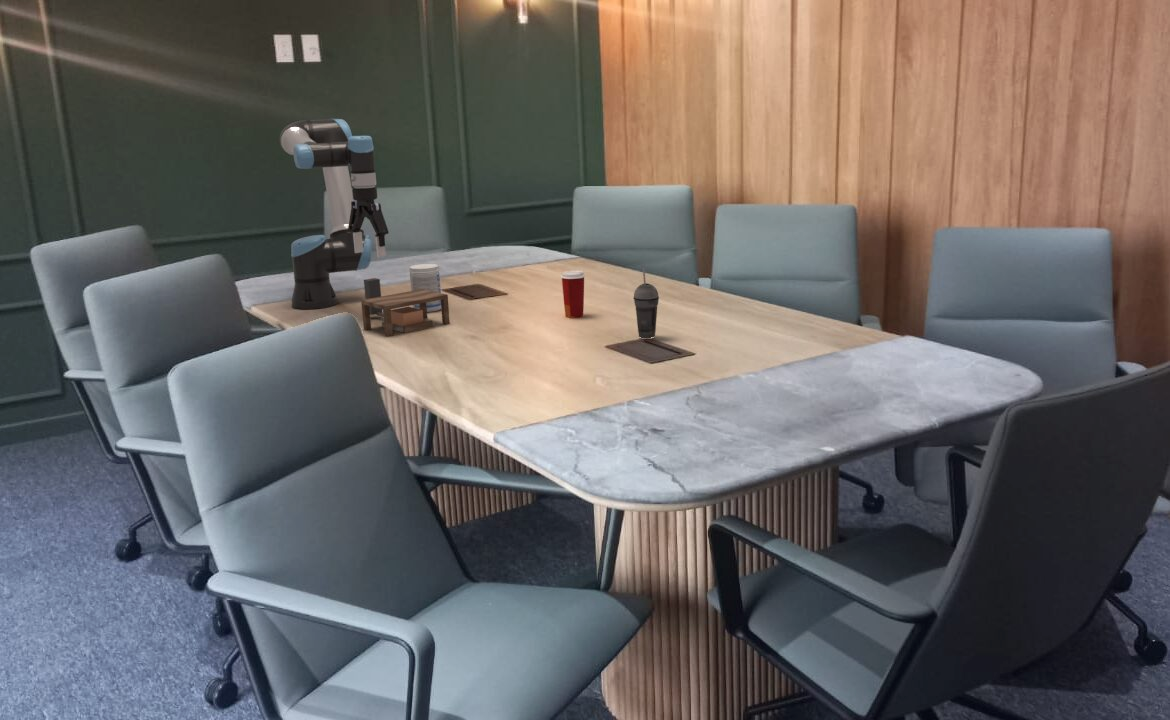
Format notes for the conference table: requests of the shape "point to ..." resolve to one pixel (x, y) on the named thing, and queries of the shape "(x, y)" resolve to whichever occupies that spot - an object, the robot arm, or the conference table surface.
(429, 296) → the shelf
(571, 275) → the paper cup
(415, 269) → the supplement tub
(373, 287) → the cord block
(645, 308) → the beverage cup
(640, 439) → the conference table surface
